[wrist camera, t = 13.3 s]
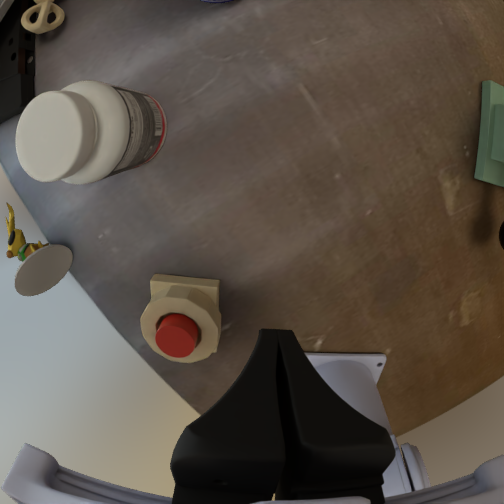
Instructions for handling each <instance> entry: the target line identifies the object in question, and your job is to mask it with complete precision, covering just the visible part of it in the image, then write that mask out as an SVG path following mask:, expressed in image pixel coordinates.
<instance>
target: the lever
mask: <svg viewBox="0 0 504 504" xmlns="http://www.w3.org/2000/svg"><path fill="white" fill-rule="evenodd" d="M499 241H500V244H501V246H502V248H503V249H504V222H503V223H502V225H501V227H500V230H499Z"/></svg>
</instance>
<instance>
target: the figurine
mask: <svg viewBox="0 0 504 504" xmlns="http://www.w3.org/2000/svg"><path fill="white" fill-rule="evenodd" d="M7 206H8V208H9V222H8V220H7V218H6V223H7V229H8V234H9V239H8V251H7V257H8V258H12V257H14V256H18V259H19V260H20V261H22V264H21V265H20V266H19V269H18V270H17V272H16V276H15V288H16V290H17V292H18V293H19V294H21V295H23V296H34V295H38V294H41V293H43V292H45V291H47V290H49V289H50V288H52V287H53V286H55V285H56V284H57V283H58V282H59V281H60V280H61V279H62V278H63V277H64V276H65V274H66V273H67V272H68V270H69V268H70V266H71V264H72V259H73V256H72V252H71V250H70V249H69V248H67V247H65V246H63V245H59V244H52V245H49V243H47V244H45V245H42V244H41V242H40V241H39V242H38V244H34V243H27V244H26V241H25V237H24V235H23V232H22V230H19V229H15V223H14V222H15V221H14V211H13V209H12V207H11V206H10V205H9V204H8V203H7Z"/></svg>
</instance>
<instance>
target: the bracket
mask: <svg viewBox="0 0 504 504" xmlns="http://www.w3.org/2000/svg"><path fill="white" fill-rule="evenodd" d="M474 178H476V179H479V180H482V181H485V182H488V183H492V184H495V185H498V186H502V187H504V87H503V86H501V85H499V84H497V83H495V82H493V81H491V80H488V81H482V108H481V124H480V136H479V145H478V154H477V162H476V169H475V175H474Z"/></svg>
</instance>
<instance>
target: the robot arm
mask: <svg viewBox="0 0 504 504" xmlns="http://www.w3.org/2000/svg"><path fill="white" fill-rule="evenodd" d="M386 359H387V358H386V356H385V354H336V353H304V351H303V350H302V348H301V346H300V344H299V342H298V341H297V339H296V337H295V335H294V332H293V331H292V330H280V329H261V330H259V336H258V340H257V343H256V345H255V348H254V350H253V352H252V354H251V356H250V358H249V360H248V362H247V364H246V365H245V367H244V369H243V370H242V372H241V374H240V375H239V376H238V378H237V379H236V381H235V382H234V383H233V385H232V386H231V387H230V388H229V389H228V391H227V392H226V393H225V394H224V395H223V396H222V397H221V398H220V399H219V400H218V401H217V402H216V403H215V404H214V405H213V406H212V407H211V408H210V409H209V410H208V411H206V412H205V413H204V414H203V415H202V416H200V417H199V418H198V419H196V420H195V421H194V422H192V423H191V424H189V425H188V426H186V428H185V429H184V431H183V433H182V434H181V436H180V438H179V440H178V441H177V444H176V446H175V449H174V451H173V455H172V459H171V463H170V467H171V472H172V475H173V478H174V480H175V489H174V494H173V498H170V497H164V496H159V495H155V494H150V493H146V492H142V491H137V490H134V489H130V488H125V487H122V486H118V485H115V484H111V483H108V482H105V481H101V480H99V479H95V478H92V477H89V476H86V475H84V474H81V473H78V472H75V471H73V470H70V469H67V468H64V467H62V466H60V465H59V464H58V462H57V461H56V459H55V458H54V457H53V456H51V455H50V454H49V453H47V452H45V451H42V450H40V449H38V448H35V447H34V446H32V445H29V444H27V443H25V444H24V445H23V447H22V448H21V450H20V452H19V454H18V456H17V457H16V459H15V461H14V463H13V465H12V467H11V469H10V471H9V473H8V474H7V477H6V479H5V480H4V482H3V484H2V487H1V489H2V490H3V491H4V492H5V493H6V494H7V495H8V496H10V497H11V498H12V499H13V500H14V501H15V502H17V503H18V504H504V455H501V456H498V457H496V458H493V459H491V460H489V461H486V462H484V463H483V464H482V465H480V466H479V467H478V468H477V469H476V470H475V471H474V473H472V474H470V475H467V476H464V477H461V478H458V479H455V480H452V481H449V482H446V483H442V484H439V485H436V486H432V487H431V485H430V481H429V478H428V474H427V471H426V468H425V465H424V462H423V459H422V457H421V454H420V452H419V450H418V448H417V447H416V446H413V445H410V444H409V443H405V444H402V445H401V449H402V453H403V459H402V455H401V453H400V450H399V447H398V444H397V441H396V437H395V435H393V433H392V430H391V427H390V424H389V421H388V418H387V415H386V412H385V409H384V406H383V404H382V401H381V398H380V395H379V392H378V389H377V387H376V384H377V382H378V379H379V377H380V374H381V372H382V370H383V367H384V365H385V362H386ZM378 363H380V364H378ZM403 460H404V462H403ZM404 463H405V465H404ZM405 467H406V468H405ZM274 493H275V501H271V500H272V497H273V494H274Z"/></svg>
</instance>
